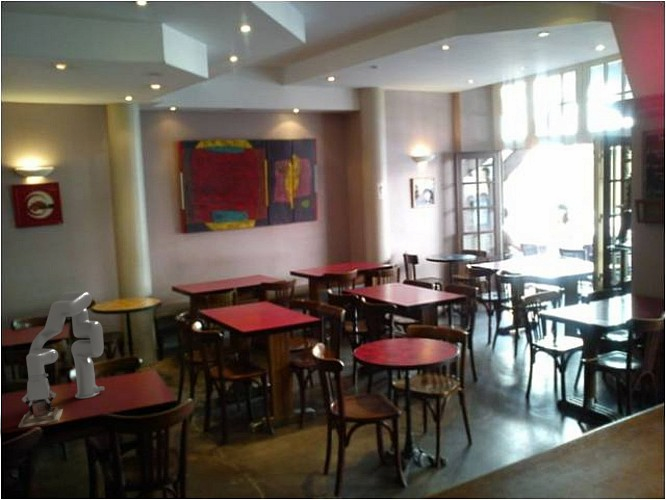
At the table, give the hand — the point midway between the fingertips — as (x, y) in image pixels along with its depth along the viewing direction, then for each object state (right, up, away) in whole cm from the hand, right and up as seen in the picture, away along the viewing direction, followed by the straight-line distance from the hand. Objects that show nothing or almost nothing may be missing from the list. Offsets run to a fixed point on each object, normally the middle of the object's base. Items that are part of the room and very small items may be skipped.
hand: (40, 411), depth 308 cm
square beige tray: (0, -4, 0) cm, 4 cm away
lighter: (0, -2, 0) cm, 3 cm away
